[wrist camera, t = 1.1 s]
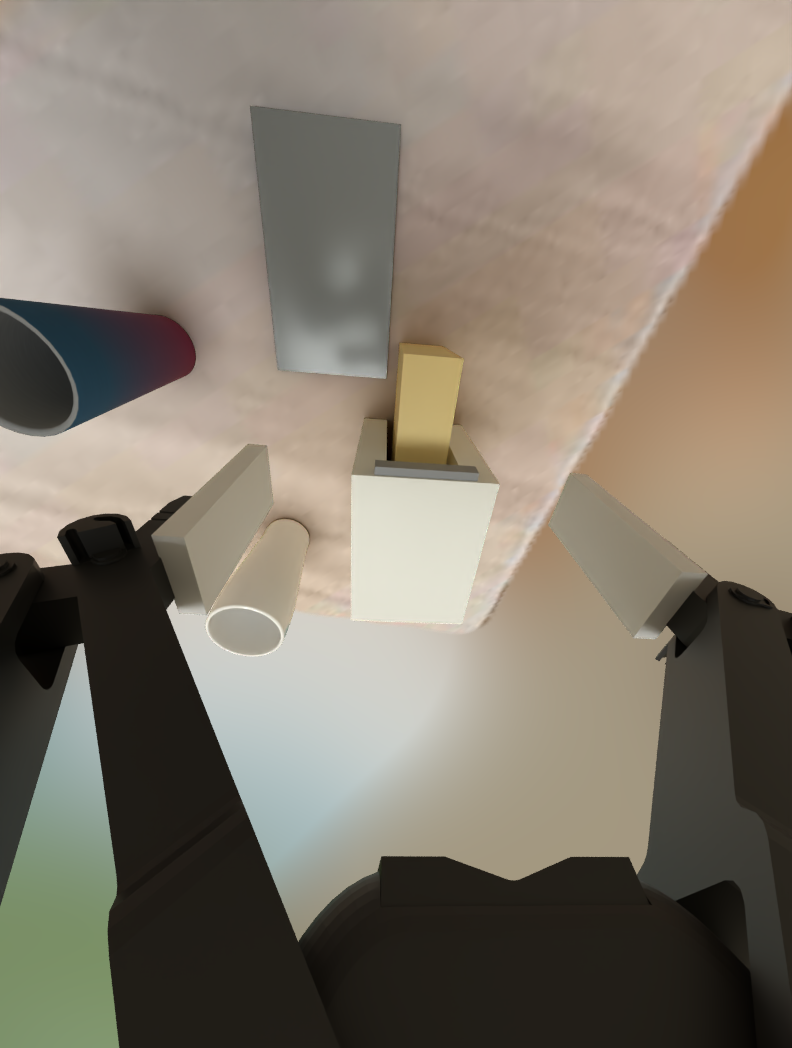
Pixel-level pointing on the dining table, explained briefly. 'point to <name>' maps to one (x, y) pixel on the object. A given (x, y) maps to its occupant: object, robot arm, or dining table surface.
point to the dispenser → (416, 530)
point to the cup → (81, 362)
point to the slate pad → (328, 237)
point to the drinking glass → (261, 593)
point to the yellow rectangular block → (425, 403)
